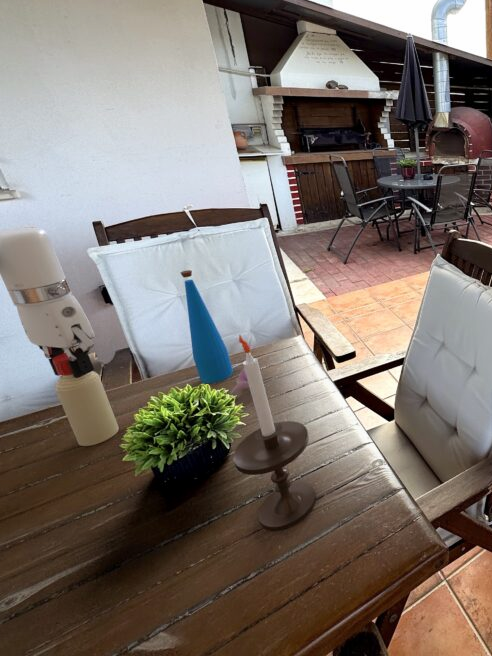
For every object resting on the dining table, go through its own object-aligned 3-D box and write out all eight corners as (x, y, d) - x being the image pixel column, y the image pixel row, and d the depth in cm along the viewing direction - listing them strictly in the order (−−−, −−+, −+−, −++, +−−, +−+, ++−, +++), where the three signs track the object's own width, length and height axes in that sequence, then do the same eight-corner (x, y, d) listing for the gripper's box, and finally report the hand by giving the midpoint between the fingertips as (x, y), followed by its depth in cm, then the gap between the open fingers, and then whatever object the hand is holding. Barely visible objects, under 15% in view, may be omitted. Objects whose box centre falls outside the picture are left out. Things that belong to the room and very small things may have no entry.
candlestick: (238, 523, 69) (180, 346, 57) (290, 475, 78) (250, 314, 66) (285, 545, 65) (234, 360, 53) (334, 491, 75) (300, 325, 63)
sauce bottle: (71, 449, 84) (36, 369, 78) (88, 429, 90) (57, 353, 83) (109, 441, 86) (79, 363, 80) (124, 422, 92) (97, 348, 86)
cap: (88, 368, 83) (83, 355, 82) (58, 377, 80) (52, 363, 79) (85, 361, 85) (80, 348, 84) (56, 370, 82) (51, 356, 81)
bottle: (217, 385, 105) (185, 277, 95) (193, 382, 106) (160, 275, 96) (239, 369, 112) (212, 267, 102) (217, 367, 113) (188, 265, 103)
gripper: (98, 287, 79) (128, 367, 85) (31, 282, 82) (64, 359, 88) (52, 302, 72) (87, 388, 78) (-21, 296, 75) (19, 379, 81)
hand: (75, 372), depth 83 cm, fingers closed on cap, 4 cm apart
